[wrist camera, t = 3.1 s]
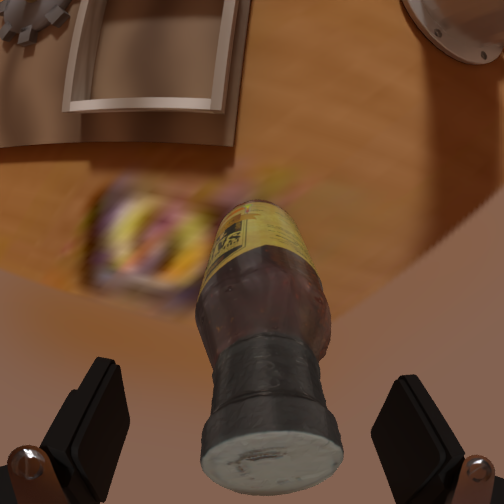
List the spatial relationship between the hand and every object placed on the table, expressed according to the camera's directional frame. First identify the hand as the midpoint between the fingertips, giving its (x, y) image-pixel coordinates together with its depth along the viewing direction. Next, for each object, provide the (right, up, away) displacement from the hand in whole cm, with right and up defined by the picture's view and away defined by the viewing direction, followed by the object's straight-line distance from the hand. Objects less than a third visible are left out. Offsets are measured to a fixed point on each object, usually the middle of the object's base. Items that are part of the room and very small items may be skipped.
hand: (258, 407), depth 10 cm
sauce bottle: (0, +6, +16) cm, 17 cm away
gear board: (-13, +24, +10) cm, 29 cm away
